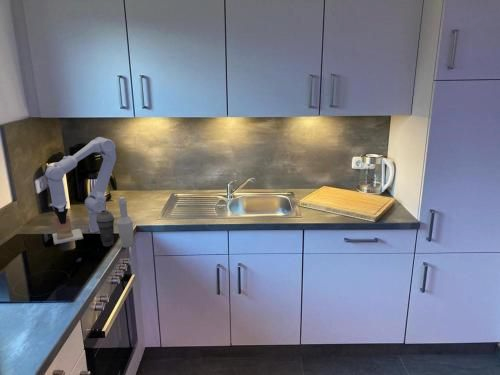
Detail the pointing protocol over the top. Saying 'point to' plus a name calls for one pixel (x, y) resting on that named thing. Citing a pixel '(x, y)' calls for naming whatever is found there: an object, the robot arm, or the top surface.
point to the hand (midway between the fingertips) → (62, 221)
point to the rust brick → (62, 226)
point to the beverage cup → (106, 227)
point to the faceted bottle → (125, 225)
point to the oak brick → (64, 233)
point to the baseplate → (75, 236)
